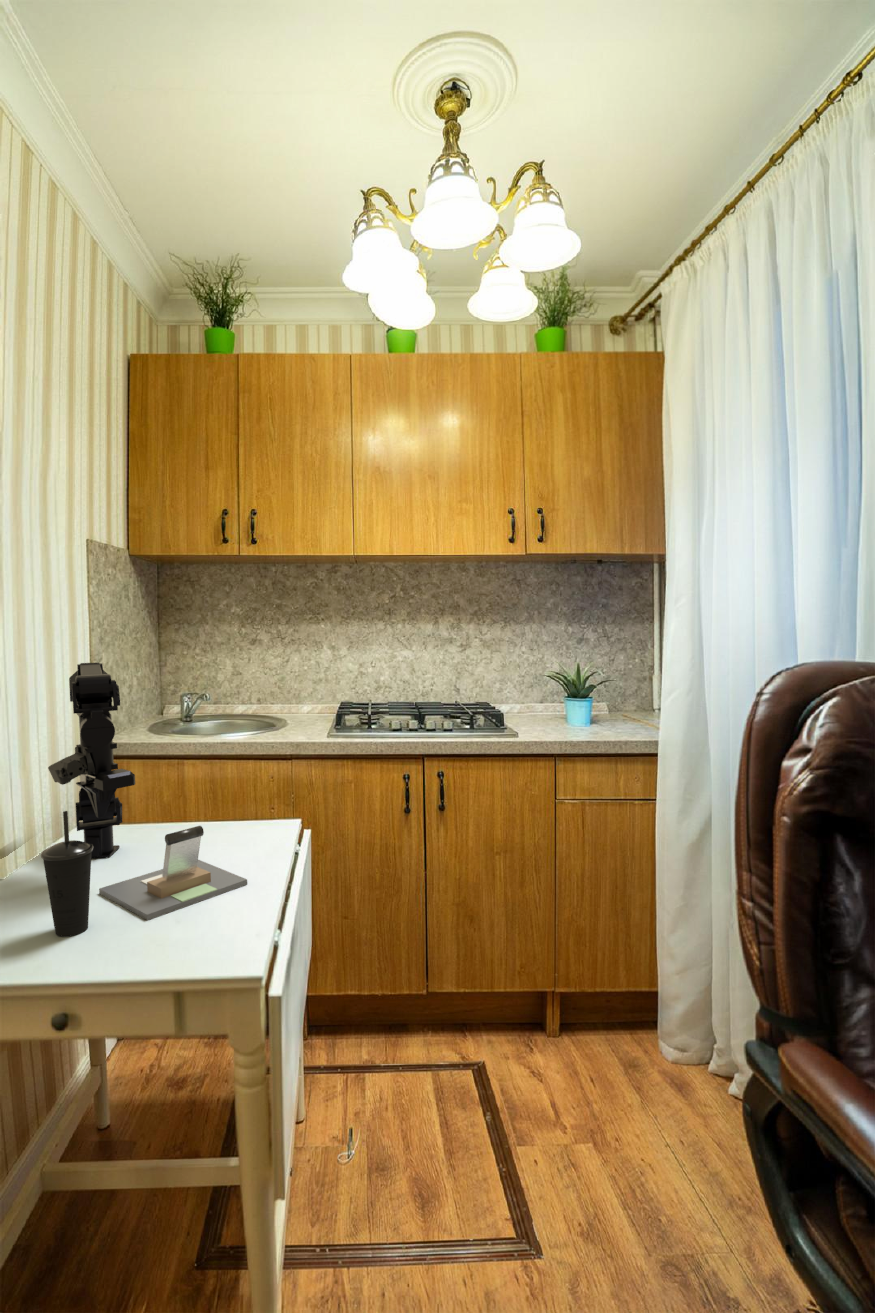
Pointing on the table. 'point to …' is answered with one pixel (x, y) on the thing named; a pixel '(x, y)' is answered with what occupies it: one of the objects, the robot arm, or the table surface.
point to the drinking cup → (68, 883)
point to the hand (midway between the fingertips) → (100, 817)
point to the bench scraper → (182, 852)
